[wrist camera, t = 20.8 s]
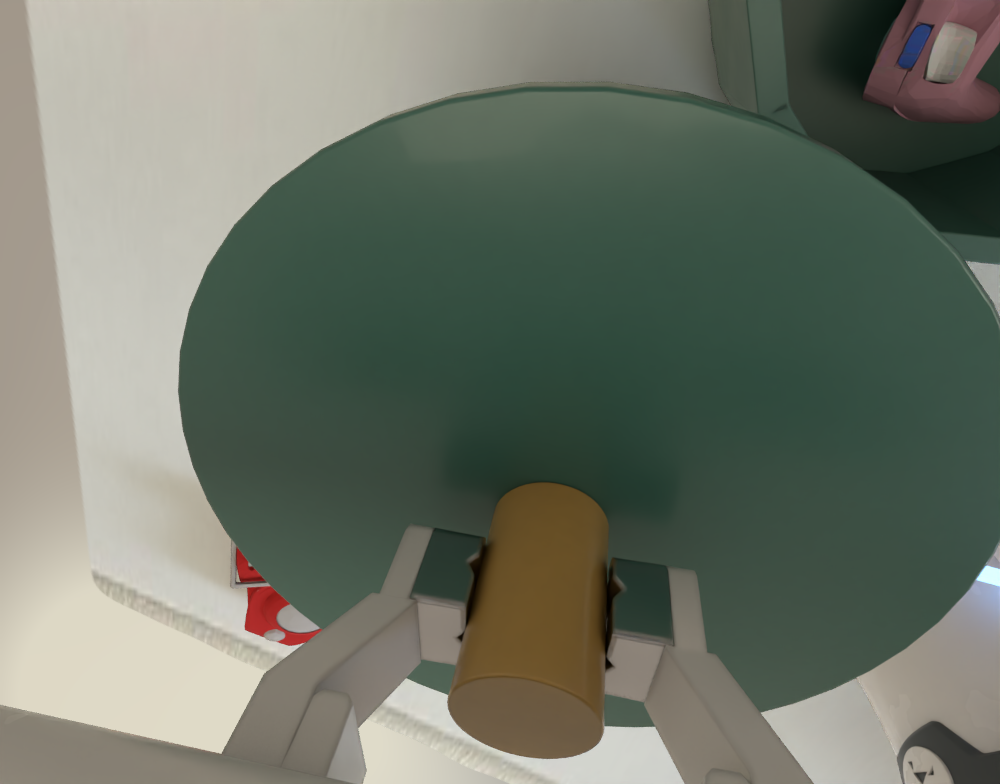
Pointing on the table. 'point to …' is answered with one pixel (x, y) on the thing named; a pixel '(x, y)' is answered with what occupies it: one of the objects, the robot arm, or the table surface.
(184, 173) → the table surface
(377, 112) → the table surface
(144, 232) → the table surface
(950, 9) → the video game controller
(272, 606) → the tracker holder
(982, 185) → the tin
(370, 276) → the tin lid
